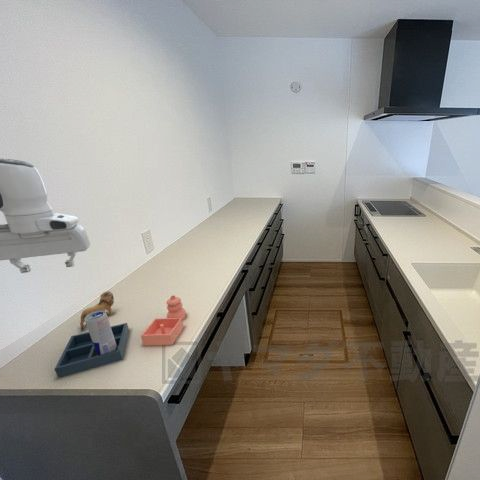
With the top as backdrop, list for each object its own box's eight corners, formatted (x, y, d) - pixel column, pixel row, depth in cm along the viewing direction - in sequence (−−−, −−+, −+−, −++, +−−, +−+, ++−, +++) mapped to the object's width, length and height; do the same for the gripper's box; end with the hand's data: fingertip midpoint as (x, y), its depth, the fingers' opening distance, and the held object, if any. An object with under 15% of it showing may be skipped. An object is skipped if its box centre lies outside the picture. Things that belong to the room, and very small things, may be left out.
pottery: (172, 344, 89) (166, 321, 86) (143, 345, 89) (136, 321, 85) (193, 312, 106) (189, 291, 103) (169, 313, 106) (164, 292, 102)
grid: (58, 378, 76) (54, 369, 75) (74, 344, 89) (71, 335, 88) (122, 359, 83) (119, 351, 82) (129, 330, 96) (126, 322, 95)
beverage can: (113, 345, 88) (101, 307, 82) (121, 351, 85) (109, 313, 80) (95, 355, 84) (81, 316, 78) (102, 362, 81) (88, 322, 76)
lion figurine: (109, 307, 108) (103, 288, 105) (121, 308, 108) (116, 289, 105) (75, 331, 95) (67, 310, 92) (89, 332, 94) (81, 311, 91)
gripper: (-33, 230, 63) (-10, 281, 68) (78, 222, 72) (91, 267, 77) (-17, 223, 68) (3, 270, 73) (84, 216, 77) (96, 259, 82)
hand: (49, 269), depth 75 cm, fingers open, 8 cm apart
